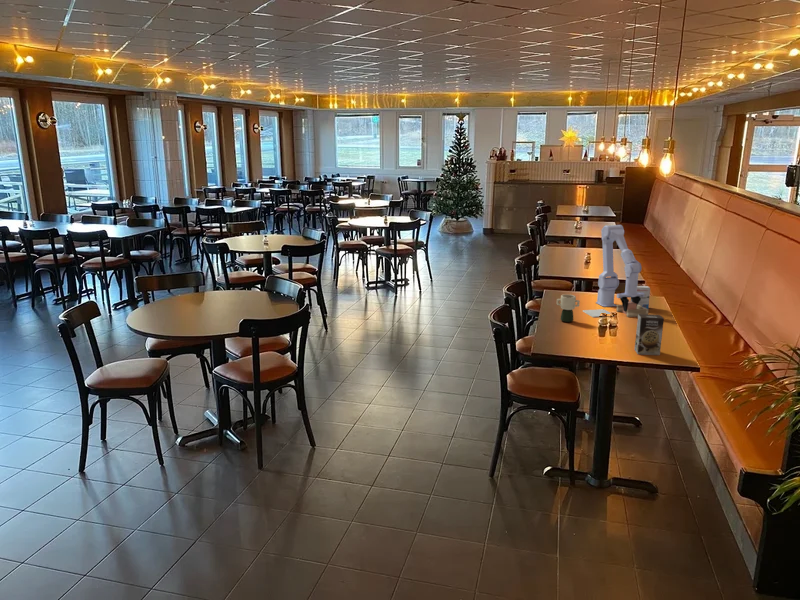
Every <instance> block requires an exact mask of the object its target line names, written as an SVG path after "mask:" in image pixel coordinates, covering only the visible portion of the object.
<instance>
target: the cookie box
mask: <svg viewBox="0 0 800 600" xmlns="http://www.w3.org/2000/svg"><path fill="white" fill-rule="evenodd" d="M664 321H665V320H664V317H663V316H662V315H660V314H649V313H648V314H638V317H637V322H636V323H637V324H636V332H635V333H636V334H635V342H634V351H635V353H636V354H637V355H643V356H644V355H647V356H660V355H661V348H662V339H663V338H662V337H663V332H664V331H663V329H664Z"/></svg>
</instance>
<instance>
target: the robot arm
mask: <svg viewBox="0 0 800 600" xmlns="http://www.w3.org/2000/svg"><path fill="white" fill-rule="evenodd" d="M624 229H625V228H624V226H623V225H622V224H614V225H613V224H612V225H611V224H610V225H609V224H606V225H604V226H603V227H602V229H600V230H601V232H600V233H601V241H602V266H603V267H602V268H603V269H602V270H603V271H602V272H601V273H600V274H599V275H598V281H597V285H598V287H599V289H598V290H597V296H596V297H597V298H596V299H597V300H596V301H595V303H596V304H597V305H600V306H602V307H605V308H606V307H617V305H618V304H616V303H615V294H616V299H619V300H620V301H621V305H623V310H624V311H625V312H626V311H627V306H628V302H629V301H630V299H631V298H632V302H634V303H636V304H638V303H639V301H640V300H641V298H640V297H644V295H645V293H637V286H638V285H639V284H638V283H639V273H641V271H642V270H643V269H642V263H641V262H639V261H638V260H636V257H635V256H634V252H633V251H632V250H631V249H629V247H628V244H627V241H626V238H625V236H624V235H625V230H624ZM614 242H616V245H617V246H618V248H619V250H620V251H621V253H620V257H621V259H622V261H623V264H624V267H623V268H624V272H625V273H624V275H625V289H624V292H621V293H615V292H616V290H617V288H618V287H619V284H620V280H619V277H618V274H617V273H616V272H615V271H614V268H615V267H614V247H613V246H614V244H613V243H614ZM628 298H630V299H628ZM636 307H637V305H636Z"/></svg>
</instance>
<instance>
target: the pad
mask: <svg viewBox="0 0 800 600" xmlns="http://www.w3.org/2000/svg"><path fill="white" fill-rule="evenodd" d="M582 312H583V313H585V314H586V315H588V316H590V317H591V318H600V317H599V316H600V314H601V313H606V314H610V313H611V312H610V311H608V310H606V309H605V308H603V309H602V308H601V309H584V310H582Z"/></svg>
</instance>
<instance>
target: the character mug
mask: <svg viewBox="0 0 800 600" xmlns="http://www.w3.org/2000/svg"><path fill="white" fill-rule="evenodd" d="M576 298H577V297H576V295H573V294H561V295H560V298H556V305H557V306H560V308H561V314H560V320H561V321H562V322H566V323H567V322H568V323H569V322H574V311H573V310H574V309H576V308H577V307H578V308H579V307H580V303H581V302H580V300H578V299H576ZM576 303H577V304H576Z"/></svg>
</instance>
